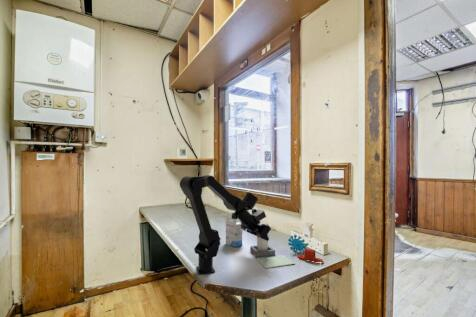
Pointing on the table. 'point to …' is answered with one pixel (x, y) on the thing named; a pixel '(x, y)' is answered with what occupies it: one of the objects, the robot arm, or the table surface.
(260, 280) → the table surface
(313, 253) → the bracket
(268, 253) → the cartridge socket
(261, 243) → the cylinder
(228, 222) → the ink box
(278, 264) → the pad
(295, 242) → the gear
